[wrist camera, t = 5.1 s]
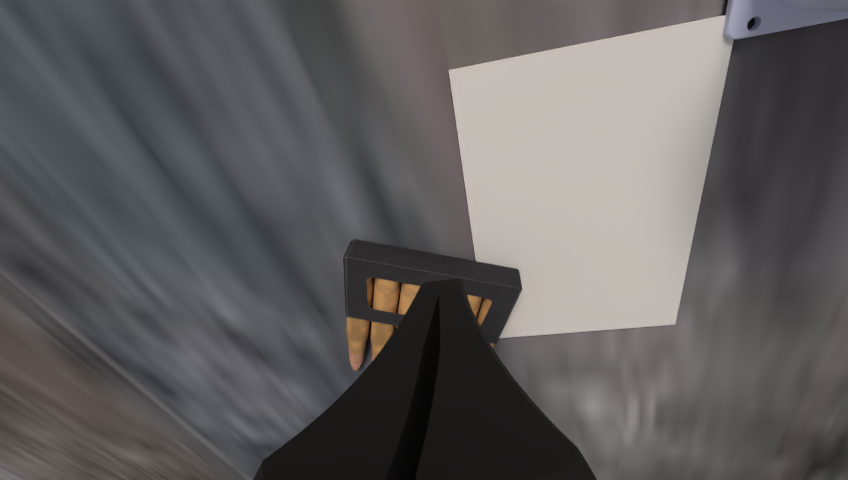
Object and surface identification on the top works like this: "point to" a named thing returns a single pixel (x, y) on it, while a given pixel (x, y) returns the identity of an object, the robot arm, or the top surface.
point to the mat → (592, 172)
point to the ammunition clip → (412, 271)
